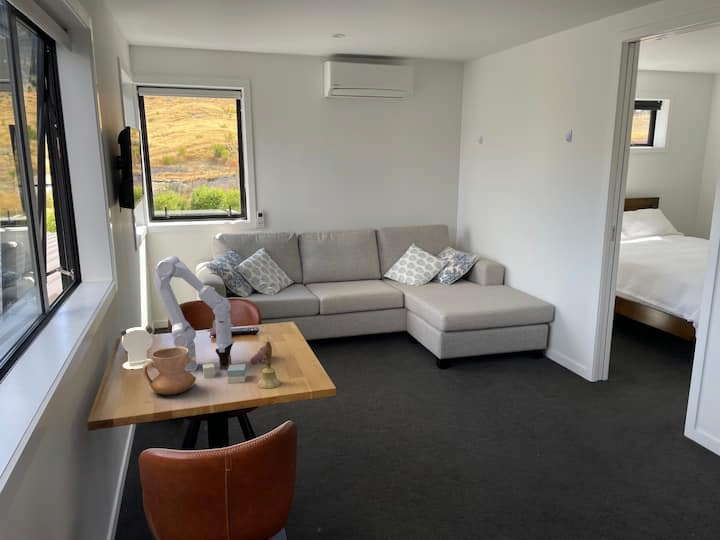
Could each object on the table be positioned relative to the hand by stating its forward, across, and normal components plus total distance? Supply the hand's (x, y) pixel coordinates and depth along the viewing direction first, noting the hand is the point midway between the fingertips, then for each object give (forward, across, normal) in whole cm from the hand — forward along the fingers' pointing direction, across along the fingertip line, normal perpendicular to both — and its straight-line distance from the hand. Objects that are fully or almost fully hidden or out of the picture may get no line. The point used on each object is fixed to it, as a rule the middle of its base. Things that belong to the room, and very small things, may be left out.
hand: (225, 363), depth 211 cm
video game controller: (+2, +6, -13) cm, 15 cm away
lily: (+2, +37, +7) cm, 38 cm away
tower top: (-1, -13, -6) cm, 14 cm away
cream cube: (+2, -8, +5) cm, 10 cm away
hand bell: (+2, -19, -18) cm, 26 cm away
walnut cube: (+1, 0, 0) cm, 1 cm away
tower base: (+2, -13, -6) cm, 14 cm away
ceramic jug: (+2, -20, +16) cm, 26 cm away
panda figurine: (+2, +8, +35) cm, 36 cm away
